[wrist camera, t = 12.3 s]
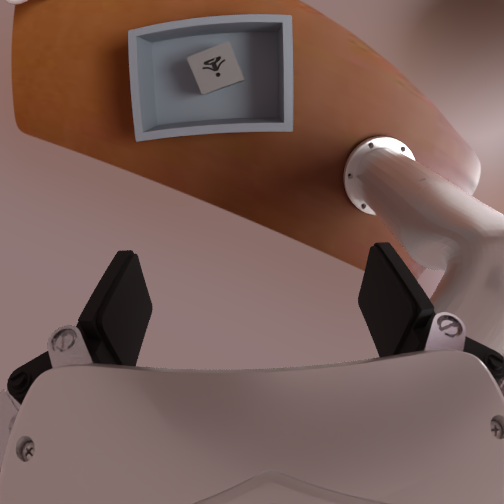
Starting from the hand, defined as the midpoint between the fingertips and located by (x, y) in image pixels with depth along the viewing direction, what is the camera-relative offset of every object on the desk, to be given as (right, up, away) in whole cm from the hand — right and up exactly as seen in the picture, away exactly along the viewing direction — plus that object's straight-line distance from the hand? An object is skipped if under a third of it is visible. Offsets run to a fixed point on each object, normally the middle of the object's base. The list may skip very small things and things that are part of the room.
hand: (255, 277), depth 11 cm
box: (-5, +24, +21) cm, 32 cm away
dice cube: (-4, +24, +20) cm, 31 cm away
